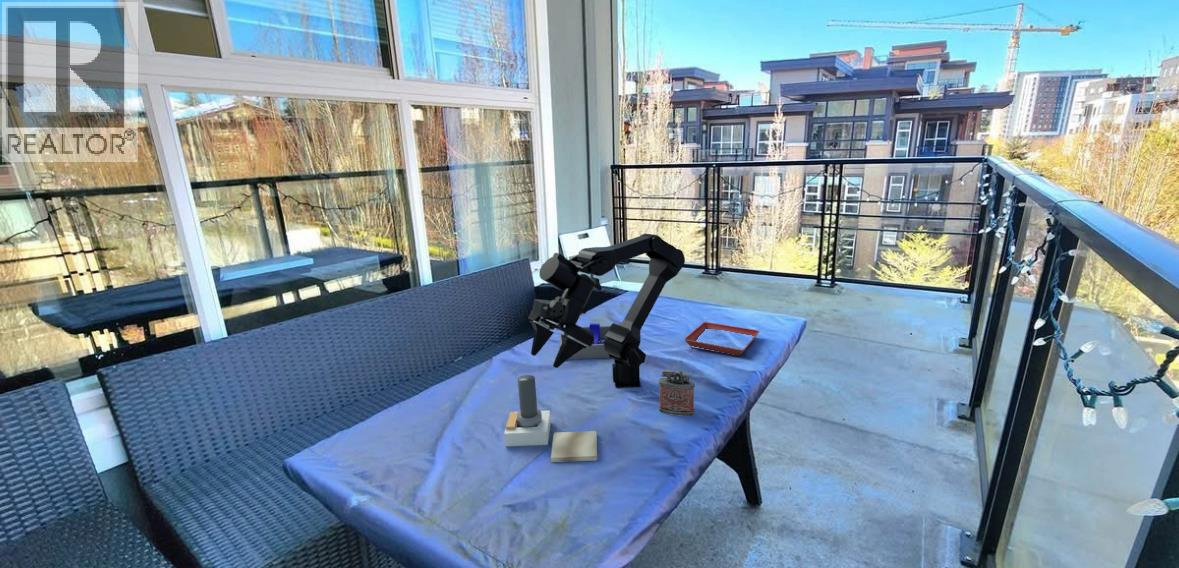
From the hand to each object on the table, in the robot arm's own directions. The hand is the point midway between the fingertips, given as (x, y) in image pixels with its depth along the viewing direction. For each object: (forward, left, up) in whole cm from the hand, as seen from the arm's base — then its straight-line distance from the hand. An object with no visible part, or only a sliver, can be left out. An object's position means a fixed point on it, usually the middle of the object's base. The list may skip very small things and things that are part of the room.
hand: (543, 361), depth 111 cm
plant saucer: (-51, -39, -14) cm, 65 cm away
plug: (+3, +8, -13) cm, 16 cm away
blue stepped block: (-10, -40, -14) cm, 43 cm away
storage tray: (-10, -40, -13) cm, 43 cm away
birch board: (-7, +14, -13) cm, 20 cm away
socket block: (+3, +8, -13) cm, 16 cm away
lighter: (-30, +1, -14) cm, 33 cm away
